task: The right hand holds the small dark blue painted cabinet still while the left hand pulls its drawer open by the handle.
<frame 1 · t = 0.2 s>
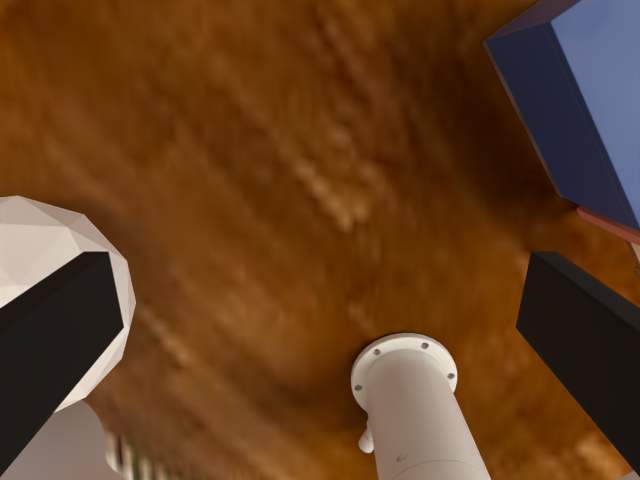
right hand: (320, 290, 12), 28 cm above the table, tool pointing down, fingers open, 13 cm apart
drawer: (621, 171, 34), point 6 cm above the table, slide at 1.7 cm
sphere: (75, 264, 43), on the table
cabinet: (554, 103, 37), on the table
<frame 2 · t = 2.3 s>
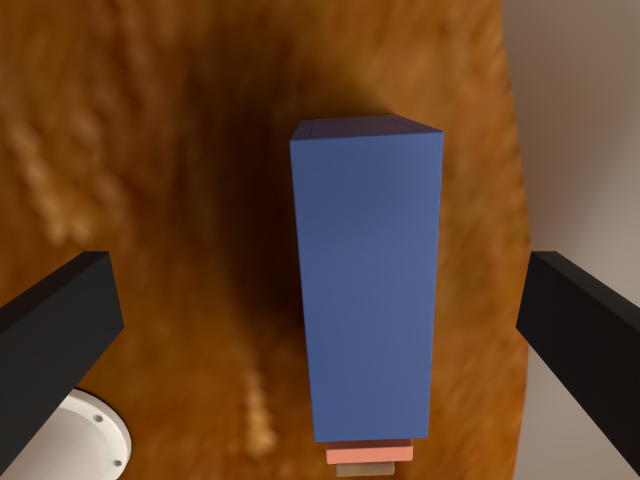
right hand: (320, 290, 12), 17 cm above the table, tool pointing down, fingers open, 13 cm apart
drawer: (360, 350, 27), point 6 cm above the table, slide at 1.7 cm
cabinet: (352, 234, 30), on the table
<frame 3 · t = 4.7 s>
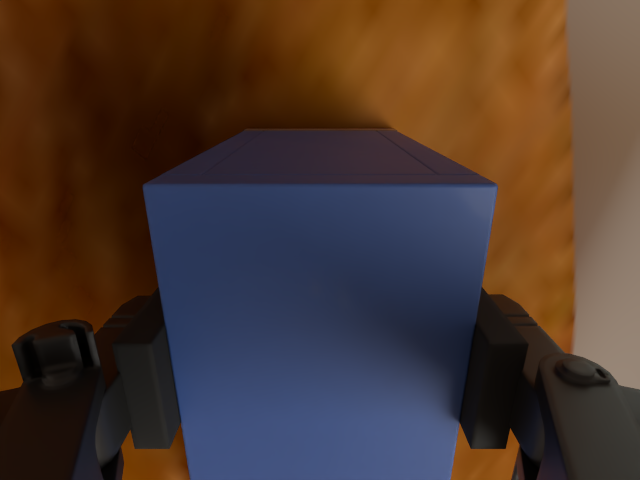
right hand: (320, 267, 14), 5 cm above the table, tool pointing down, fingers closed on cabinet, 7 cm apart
cabinet: (320, 298, 21), on the table, touching right hand
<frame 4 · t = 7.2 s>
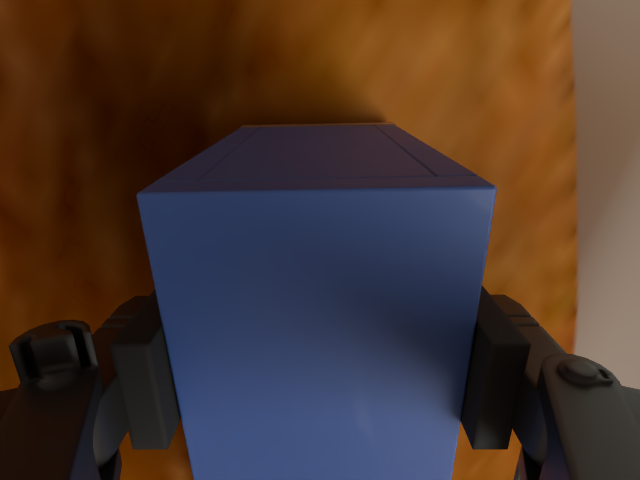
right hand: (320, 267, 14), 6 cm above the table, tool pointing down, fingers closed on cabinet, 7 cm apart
cabinet: (320, 293, 21), on the table, touching right hand
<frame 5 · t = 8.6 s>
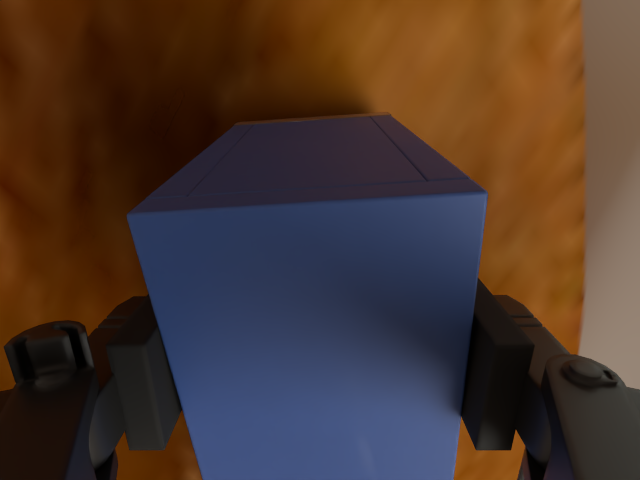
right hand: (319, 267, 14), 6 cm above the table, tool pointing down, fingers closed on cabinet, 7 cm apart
cabinet: (323, 285, 21), on the table, touching right hand
when the right hand's fingers open (6 cm above the table, at t = 10.2 s): cabinet stays where it is, on the table.
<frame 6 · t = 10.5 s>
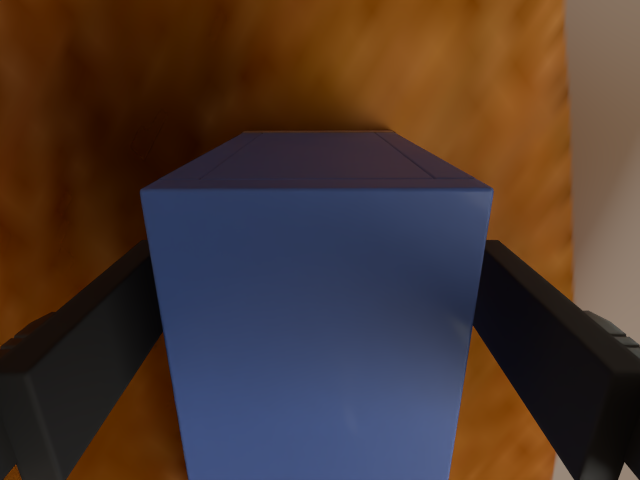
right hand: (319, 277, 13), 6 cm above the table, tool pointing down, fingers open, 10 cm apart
cabinet: (319, 299, 21), on the table
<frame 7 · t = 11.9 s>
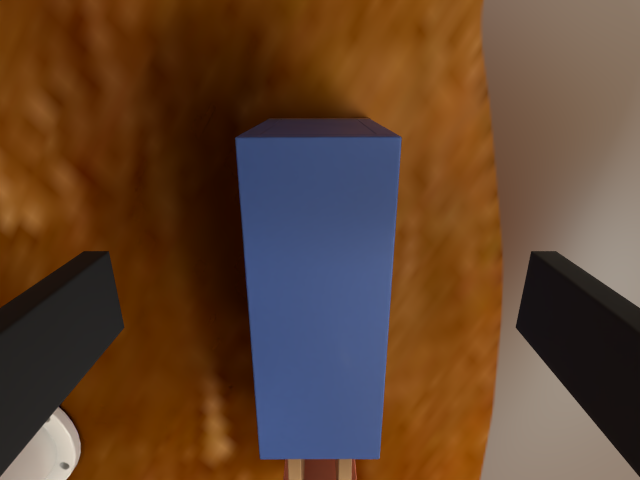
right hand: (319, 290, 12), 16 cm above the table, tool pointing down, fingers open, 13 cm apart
drawer: (319, 431, 28), point 6 cm above the table, slide at 7.7 cm
cabinet: (319, 240, 29), on the table
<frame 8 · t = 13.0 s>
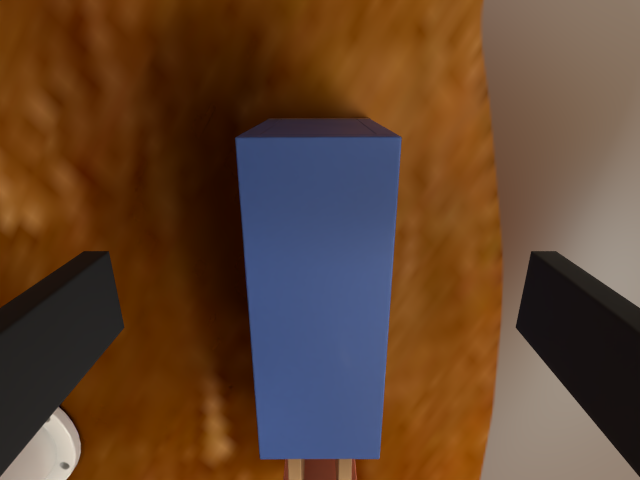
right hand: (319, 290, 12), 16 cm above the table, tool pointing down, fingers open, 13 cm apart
drawer: (319, 431, 28), point 6 cm above the table, slide at 7.7 cm
cabinet: (319, 240, 29), on the table
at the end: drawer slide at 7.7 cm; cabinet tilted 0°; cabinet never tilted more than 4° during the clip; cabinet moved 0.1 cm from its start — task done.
